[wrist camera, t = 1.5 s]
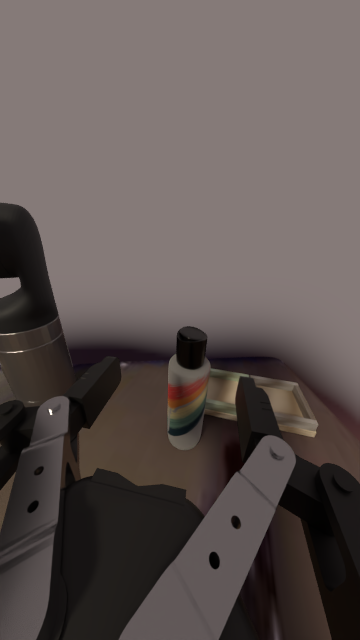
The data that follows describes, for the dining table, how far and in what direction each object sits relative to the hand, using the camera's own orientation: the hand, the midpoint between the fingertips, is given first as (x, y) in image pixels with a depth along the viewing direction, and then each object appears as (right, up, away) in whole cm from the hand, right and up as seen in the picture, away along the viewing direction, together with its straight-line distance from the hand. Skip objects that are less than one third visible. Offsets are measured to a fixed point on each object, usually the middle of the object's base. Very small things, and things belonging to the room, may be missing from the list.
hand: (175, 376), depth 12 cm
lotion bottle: (+1, -16, +19) cm, 25 cm away
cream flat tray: (+15, -13, +25) cm, 32 cm away
